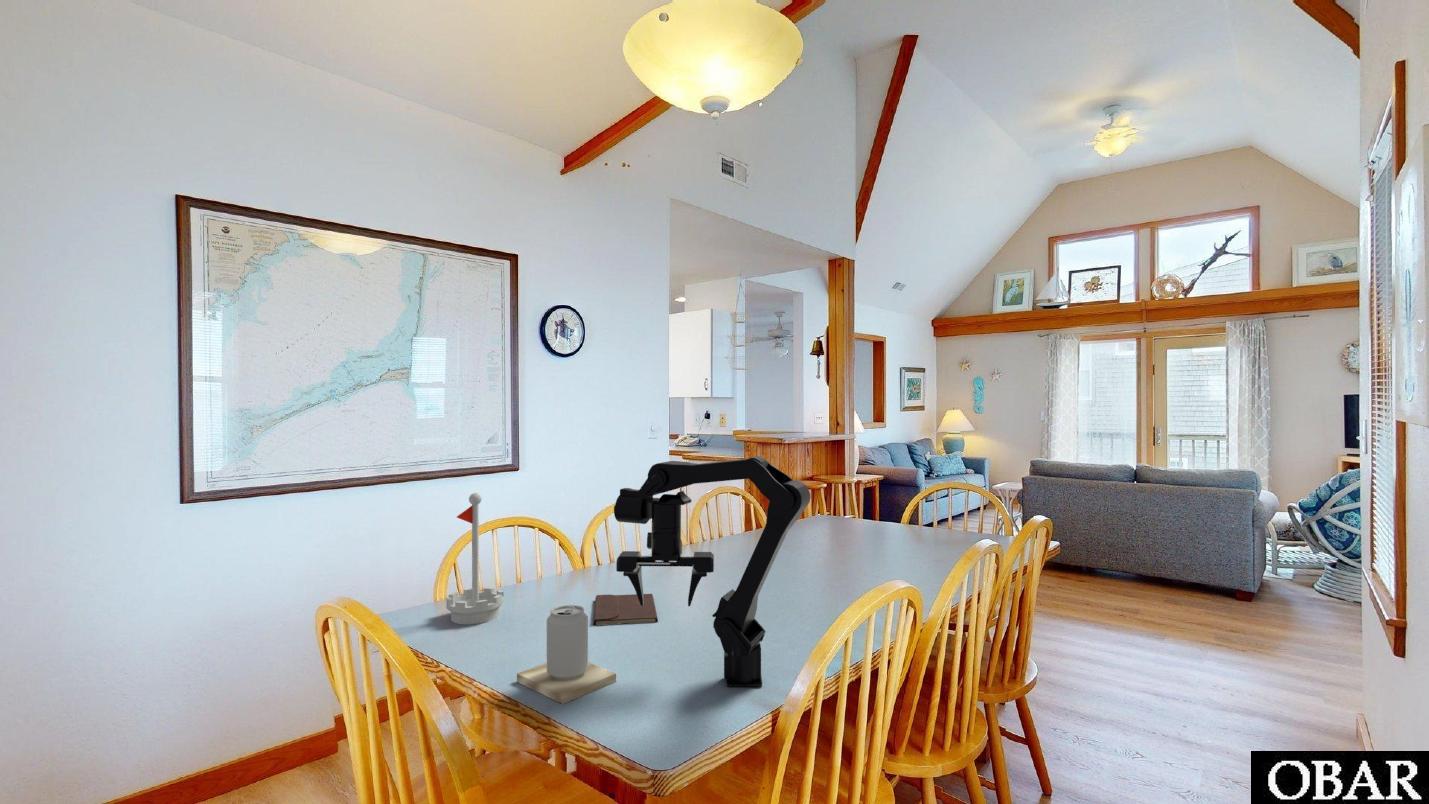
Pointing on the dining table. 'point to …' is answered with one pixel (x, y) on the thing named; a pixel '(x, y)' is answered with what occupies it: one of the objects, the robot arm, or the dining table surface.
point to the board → (566, 682)
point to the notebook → (624, 609)
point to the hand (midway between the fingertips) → (665, 605)
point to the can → (567, 642)
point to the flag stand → (474, 581)
